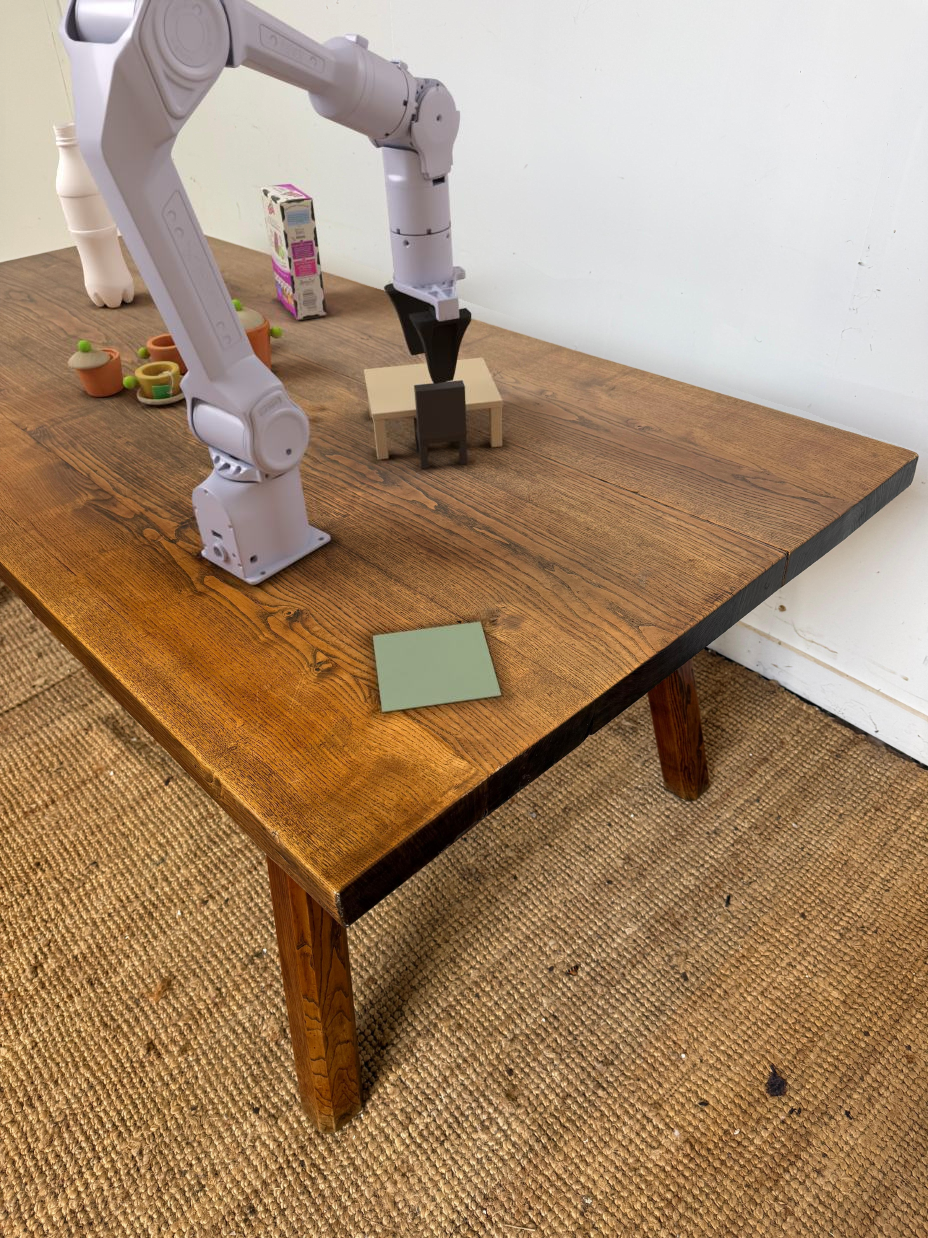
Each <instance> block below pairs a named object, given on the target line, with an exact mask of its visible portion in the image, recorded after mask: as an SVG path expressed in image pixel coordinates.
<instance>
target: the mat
mask: <svg viewBox="0 0 928 1238" xmlns="http://www.w3.org/2000/svg"><path fill="white" fill-rule="evenodd" d="M372 641H373V649H374V657H375V666H376V673H377V682H378V689H379V696H380V698H379V699H380V705H381V713H383V714H384V713H389V712H396V711H397V712H398V711H403V710H410V709H411V710H412V709H418V708H425V707H431V706H439V705H446V704H454V703H461V702H469V701H475V700H481V699H482V700H483V699H489V698H496V697H497V698H498V697H502V693H501V689H500V685H499V682H498V678H497V675H496V671H495V668H494V664H493V660H492V657H491V655H490V650H489V646H488V643H487V640H486V635H485V633H484V629H483V625H482V622H481V621H474V622H467V623H458V624H451V625H443V626H436V627H429V628H421V629H414V630H406V631H398V632H389V633H384V634H376V635H372Z"/></svg>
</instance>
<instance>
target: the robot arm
mask: <svg viewBox="0 0 928 1238" xmlns="http://www.w3.org/2000/svg"><path fill="white" fill-rule="evenodd" d="M59 23H60V24H59V27H58V29H57V35H58V36H59V38H60V41H61V43H62V45H63V47H64V49H65V51H66V53H67V55H68V58H69V62H70V74H71V89H72V101H73V103H72V104H73V114H74V116H73V117H74V124H75V129H76V139H77V143H78V146H79V149H80V152H81V155H82V157H83V159H84V161H85V163H86V165H87V167H88V169H89V171H90V173H91V175H92V177H93V179H94V181H95V183H96V185H97V187H98V189H99V191H100V193H101V195H102V197H103V199H104V201H105V203H106V205H107V207H108V209H109V211H110V213H111V215H112V218H113V220H114V222H115V224H116V226H117V231H118V233H119V234H120V236H121V238H122V239H123V242H124V244H125V246H126V248H127V249H128V253H129V254H130V256H131V258H132V260H133V262H134V264H135V266H136V268H137V270H138V272H139V274H140V276H141V278H142V280H143V283H144V284H145V286H146V288H147V290H148V292H149V294H150V296H151V298H152V301H153V302H154V305H155V306H156V308H157V311H158V313H159V314H160V316H161V318H162V320H163V322H164V325H165V327H166V329H167V330H168V332H169V333H168V334H170V335H171V337H172V339H173V341H174V343H175V345H176V347H177V349H178V351H179V353H180V355H181V357H182V359H183V361H184V363H185V365H186V367H187V369H188V372H186V373H185V374H184V375H183V376H184V377H183V379H182V381H181V383H180V387H181V389H182V391H183V393H184V396H185V398H184V399H185V401H186V409H187V411H186V412H187V414H186V415H187V424H188V426H189V430H190V432H191V433H192V435H193V436H194V437H195V439H196V440H198V441H199V442H200V443H202V444H203V445H206V446H207V448H208V452H209V455H210V459H211V460H212V463H213V470H212V471H211V473H210V474H209V475H208V477H207V478H206V479H205V480H204V481H202V482H201V483H200V484H199V485H197V486H195V488H194V489H193V490H192V492H191V493H192V494H191V503H192V508H193V512H194V516H195V519H196V523H197V526H198V530H199V535H200V538H201V541H202V546H203V549H202V550H201V556H202V557H203V558H204V559H206V560H208V561H210V562H211V563H213V564H215V565H217V567H220V568H222V569H223V570H225V571H227V572H229V573H230V574H232V575H234V576H235V577H237V578H238V579H240V580H242V581H244V582H245V583H247V584H249V585H251V586H255V585H258V584H260V583H262V582H263V581H265V580H267V579H268V578H270V577H272V576H273V575H275V574H277V573H278V572H280V571H282V570H283V569H285V568H287V567H289V566H291V565H292V564H293V563H295V562H297V561H298V560H300V559H302V558H304V557H305V556H307V555H309V554H311V553H313V552H314V551H315V550H317V549H319V548H321V547H322V546H324V545H325V544H327V543H329V542H331V535H330V534H329V533H326V532H324V531H322V530H321V529H318V528H317V527H315V526H313V525H311V524H310V523H309V517H308V512H307V507H306V500H305V495H304V489H303V483H302V477H301V471H300V465H301V464H302V458H303V457H304V455H305V453H306V451H307V449H308V445H309V442H310V436H311V435H310V433H311V431H310V422H309V419H308V416H307V414H306V413H305V411H304V409H302V408H301V406H300V405H298V404H297V403H296V402H295V401H293V400H292V399H291V398H290V397H289V395H288V393H287V391H286V389H285V386H284V384H283V381H281V380H280V379H279V378H278V376H277V375H275V373H273V371H272V370H271V371H270V370H269V369H268V368H267V367H266V366H265V365H264V364H263V363H262V362H261V361H260V360H259V359H258V357H257V356H256V355H255V354H254V352H253V349H252V347H251V345H250V342H249V340H248V337H247V335H246V333H245V330H244V328H243V326H242V323H241V321H240V319H239V316H238V314H237V311H236V309H235V307H234V304H233V302H232V300H233V299H232V297H231V295H230V292H229V290H228V288H227V285H226V283H225V281H224V279H223V276H222V274H221V271H220V269H219V267H218V264H217V261H216V259H215V257H214V254H213V253H212V250H211V248H210V245H209V243H208V241H207V238H206V236H205V233H204V230H203V229H202V227H201V224H200V222H199V218H198V217H197V215H196V212H195V210H194V207H193V205H192V203H191V200H190V198H189V196H188V193H187V191H186V189H185V187H184V183H183V182H182V179H181V177H180V175H179V172H178V170H177V167H176V165H175V162H174V160H173V157H172V150H173V148H174V145H175V142H176V140H177V138H178V136H179V133H180V131H181V130H182V129H183V127H184V126H185V124H186V123H187V122H188V121H189V119H190V118H191V116H192V115H193V114H194V112H195V111H196V110H197V108H198V107H199V105H200V104H201V103H202V101H203V100H204V99H205V97H207V94H208V93H209V92H210V90H211V89H212V88H213V87H214V85H215V83H216V82H217V81H218V79H219V78H220V76H221V74H222V72H223V71H224V69H225V68H227V69H228V68H229V69H237V68H239V67H240V66H243V67H246V68H247V69H250V70H252V71H255V72H258V73H261V74H263V75H266V76H268V77H271V78H274V79H276V80H279V81H281V82H283V83H286V84H289V85H291V86H294V87H296V88H299V89H302V90H304V91H306V92H307V96H308V99H309V102H310V104H311V106H312V108H313V110H314V111H315V112H316V114H317V115H319V116H321V117H322V118H324V119H326V120H328V121H331V122H333V123H335V124H338V125H340V126H343V127H345V128H348V129H350V130H353V131H354V132H357V133H359V134H361V135H364V136H366V137H367V138H368V140H369V141H370V143H371V145H373V146H374V148H376V149H380V148H381V155H382V164H383V165H382V167H383V175H384V176H383V177H384V185H385V195H386V204H387V205H386V207H387V214H388V225H389V226H388V227H389V236H390V245H391V256H392V257H391V258H392V267H393V272H392V276H391V277H392V282H391V283H387V284H386V285H384V286H383V289H384V291H385V293H386V295H387V296H388V298H389V300H390V301H391V303H392V305H393V307H394V309H395V312H396V314H397V317H398V320H399V323H400V326H401V330H402V333H403V337H404V340H405V344H406V346H407V349H408V352H409V354H410V355H411V356H412V357H413V356H417V355H422V354H424V356H425V361H426V362H425V363H427V366H428V371H429V374H430V377H431V379H432V382H433V383H434V384H437V383H442V382H447V381H452V380H453V379H454V375H455V370H456V364H457V360H458V359H459V352H460V349H461V348H460V347H461V345H462V342H463V338H464V335H465V334H466V331H467V329H468V327H469V326H470V324H471V322H472V312H471V311H470V310H469V309H468V308H467V307H464V308H460V305H459V297H458V295H457V291H456V289H457V281H460V280H464V279H466V270H465V269H464V267H463V268H462V266H459V265H455V266H454V258H453V257H454V255H453V239H452V238H453V237H452V220H451V218H452V217H451V202H450V201H451V200H450V185H449V184H450V183H449V173H451V172H452V166H453V165H454V161H453V160H454V157H453V150H454V144H455V142H456V140H457V136H458V133H459V129H460V122H461V111H460V110H457V106H456V102H455V100H454V97H453V95H452V93H451V92H450V91H449V90H448V88H447V87H446V85H445V84H444V83H443V82H442V81H440V80H439V79H436V78H432V77H431V78H430V77H421V76H420V77H418V76H417V77H416V76H414V75H413V74H412V73H411V72H410V71H409V70H408V69H409V66H408V64H407V63H406V62H404V61H403V60H401V59H390V60H388V59H386V58H385V57H382V56H381V55H379V54H376V53H375V52H373V51H371V50H369V48H368V47H369V40H368V39H367V38H366V37H364V36H362V35H360V34H357V33H356V34H355V33H345V34H344V36H333V37H331V38H329V39H327V40H325V41H324V42H323V43H322V44H321V43H319V42H318V41H316V40H314V39H313V38H311V37H309V36H307V35H306V34H304V33H302V32H301V31H299V30H297V29H296V28H294V27H293V26H291V25H289V24H287V23H286V22H284V21H282V20H281V19H279V18H277V17H276V16H274V15H272V14H271V13H269V12H267V11H266V10H264V9H262V8H260V7H259V6H257V5H256V4H254V3H253V2H250V1H249V0H68V1H67V3H66V6H65V9H64V12H63V15H62V18H61V20H60V22H59Z"/></svg>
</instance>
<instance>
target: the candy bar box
mask: <svg viewBox="0 0 928 1238" xmlns="http://www.w3.org/2000/svg"><path fill="white" fill-rule="evenodd" d="M260 195H261V199H262V200H261V201H262V206H263V213H264V220H265V226H266V231H267V238H268V245H269V251H270V258H271V264H272V270H273V276H274V283H275V288H276V294H277V295H276V296H277V300H278V301H279V303H280V304H281V305H283V307H284V308H285V309H286V310H287V311H288V312H289V313H290V314H291V315H292V316H293V317H294V318H295V319H296V320H297V321H303V320H309V319H316V318H321V317H325V316H327V315H328V311H327V305H326V299H325V289H324V283H323V282H324V281H323V273H322V267H321V259H320V257H321V256H320V250H319V249H320V248H319V241H318V232H317V225H316V224H317V223H316V217H315V208H314V199H313V197H311V196H309V195H308V194H307V193H305V192H304V191H302V190H301V189H299V188H297V187H296V186H294V185H293V184H291V183H285V184H276V185H269V186H263V187H260Z"/></svg>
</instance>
